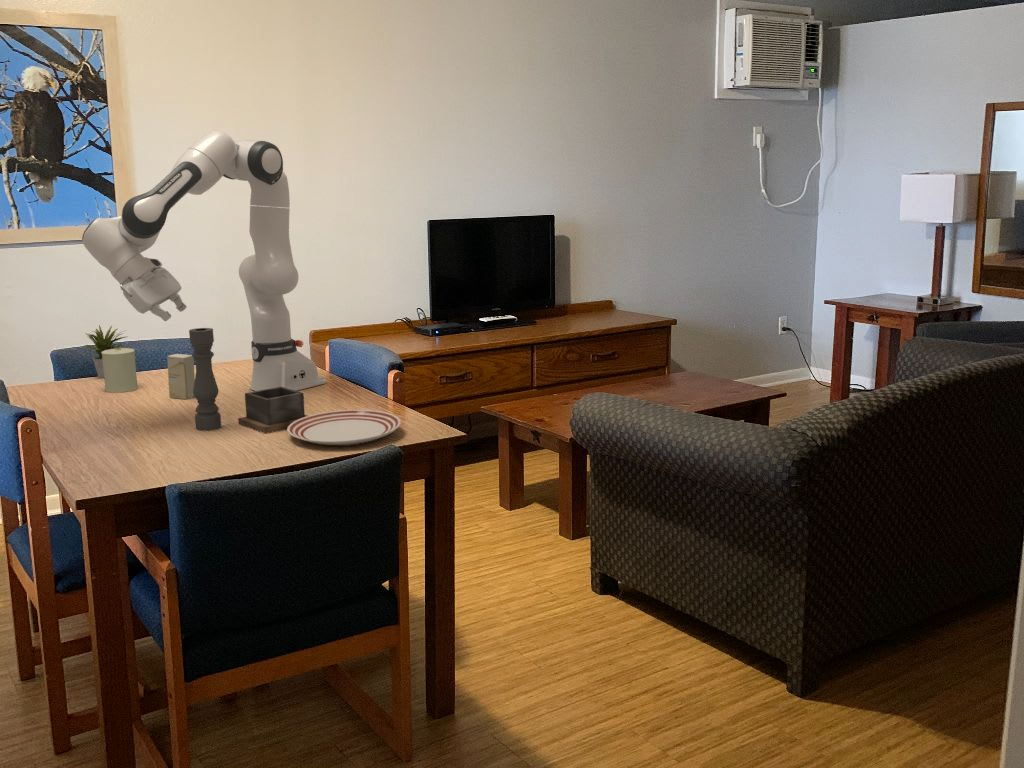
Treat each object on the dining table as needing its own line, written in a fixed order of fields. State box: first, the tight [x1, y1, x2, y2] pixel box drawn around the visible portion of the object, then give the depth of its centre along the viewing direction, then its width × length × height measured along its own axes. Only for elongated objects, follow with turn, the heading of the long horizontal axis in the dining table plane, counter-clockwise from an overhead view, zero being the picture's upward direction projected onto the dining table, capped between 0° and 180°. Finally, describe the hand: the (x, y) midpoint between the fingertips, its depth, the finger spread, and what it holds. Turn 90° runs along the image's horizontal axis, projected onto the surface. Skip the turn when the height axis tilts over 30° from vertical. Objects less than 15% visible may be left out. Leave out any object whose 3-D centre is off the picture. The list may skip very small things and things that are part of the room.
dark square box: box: [237, 387, 308, 434], centre depth 257 cm, size 14×13×8 cm
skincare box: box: [166, 353, 196, 400], centre depth 286 cm, size 6×4×12 cm
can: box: [101, 347, 139, 393], centre depth 297 cm, size 9×9×12 cm
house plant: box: [83, 324, 129, 379], centre depth 313 cm, size 14×14×16 cm
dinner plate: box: [286, 409, 402, 446], centre depth 246 cm, size 28×27×3 cm
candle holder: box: [188, 327, 222, 431], centre depth 252 cm, size 6×6×25 cm
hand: (176, 314), depth 256 cm, fingers open, 8 cm apart
